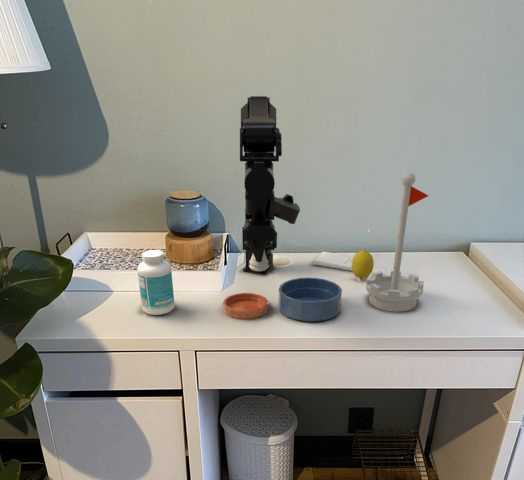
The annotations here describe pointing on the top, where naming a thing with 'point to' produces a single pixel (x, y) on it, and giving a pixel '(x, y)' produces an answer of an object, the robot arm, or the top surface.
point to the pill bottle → (155, 283)
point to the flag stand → (398, 264)
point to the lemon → (362, 264)
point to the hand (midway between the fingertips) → (259, 258)
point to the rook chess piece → (259, 263)
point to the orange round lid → (245, 305)
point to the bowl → (309, 299)
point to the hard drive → (334, 261)
